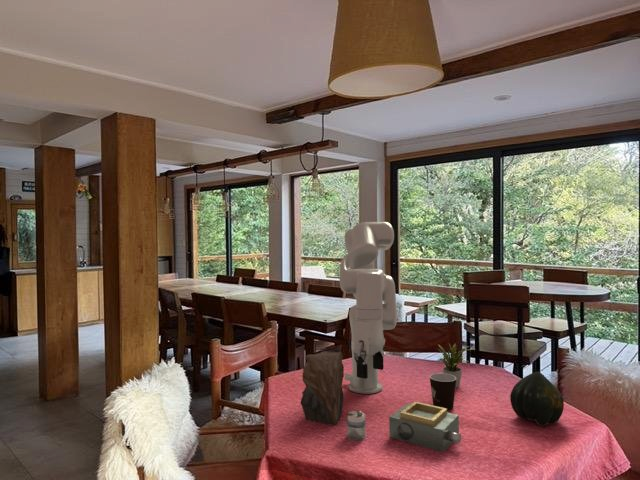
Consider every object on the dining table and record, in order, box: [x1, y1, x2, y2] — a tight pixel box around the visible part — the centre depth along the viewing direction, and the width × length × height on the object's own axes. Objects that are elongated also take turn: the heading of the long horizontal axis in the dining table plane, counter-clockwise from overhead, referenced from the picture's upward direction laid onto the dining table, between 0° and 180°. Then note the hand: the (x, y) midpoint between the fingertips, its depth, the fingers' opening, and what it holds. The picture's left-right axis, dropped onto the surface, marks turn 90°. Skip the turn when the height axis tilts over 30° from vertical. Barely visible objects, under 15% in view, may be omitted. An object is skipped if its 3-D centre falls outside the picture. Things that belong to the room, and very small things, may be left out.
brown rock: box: [300, 350, 345, 426], centre depth 148 cm, size 13×13×20 cm
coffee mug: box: [429, 372, 456, 412], centre depth 154 cm, size 12×9×10 cm
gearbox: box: [388, 401, 462, 453], centre depth 131 cm, size 19×13×8 cm, turn 54°
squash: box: [509, 371, 565, 427], centre depth 142 cm, size 14×15×15 cm
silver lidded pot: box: [346, 410, 367, 442], centre depth 132 cm, size 5×5×8 cm
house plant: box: [436, 342, 472, 389], centre depth 172 cm, size 14×14×16 cm
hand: (370, 373), depth 133 cm, fingers open, 9 cm apart
